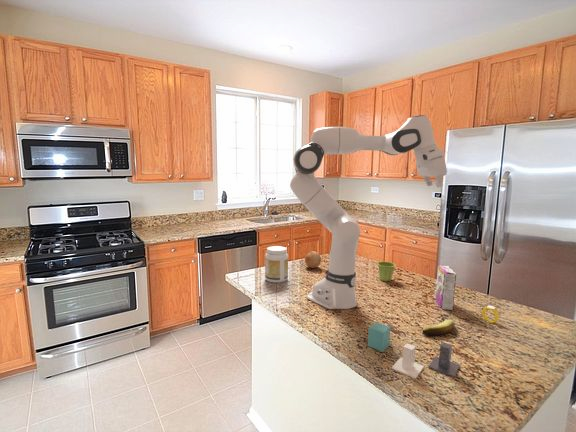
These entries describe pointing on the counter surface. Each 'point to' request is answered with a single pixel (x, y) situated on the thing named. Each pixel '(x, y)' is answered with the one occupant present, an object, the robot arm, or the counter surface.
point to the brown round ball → (312, 259)
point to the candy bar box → (445, 287)
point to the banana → (432, 329)
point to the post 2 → (444, 361)
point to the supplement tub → (276, 264)
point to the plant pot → (386, 270)
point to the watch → (493, 311)
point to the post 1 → (408, 363)
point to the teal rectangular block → (379, 336)
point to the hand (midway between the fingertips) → (434, 186)
